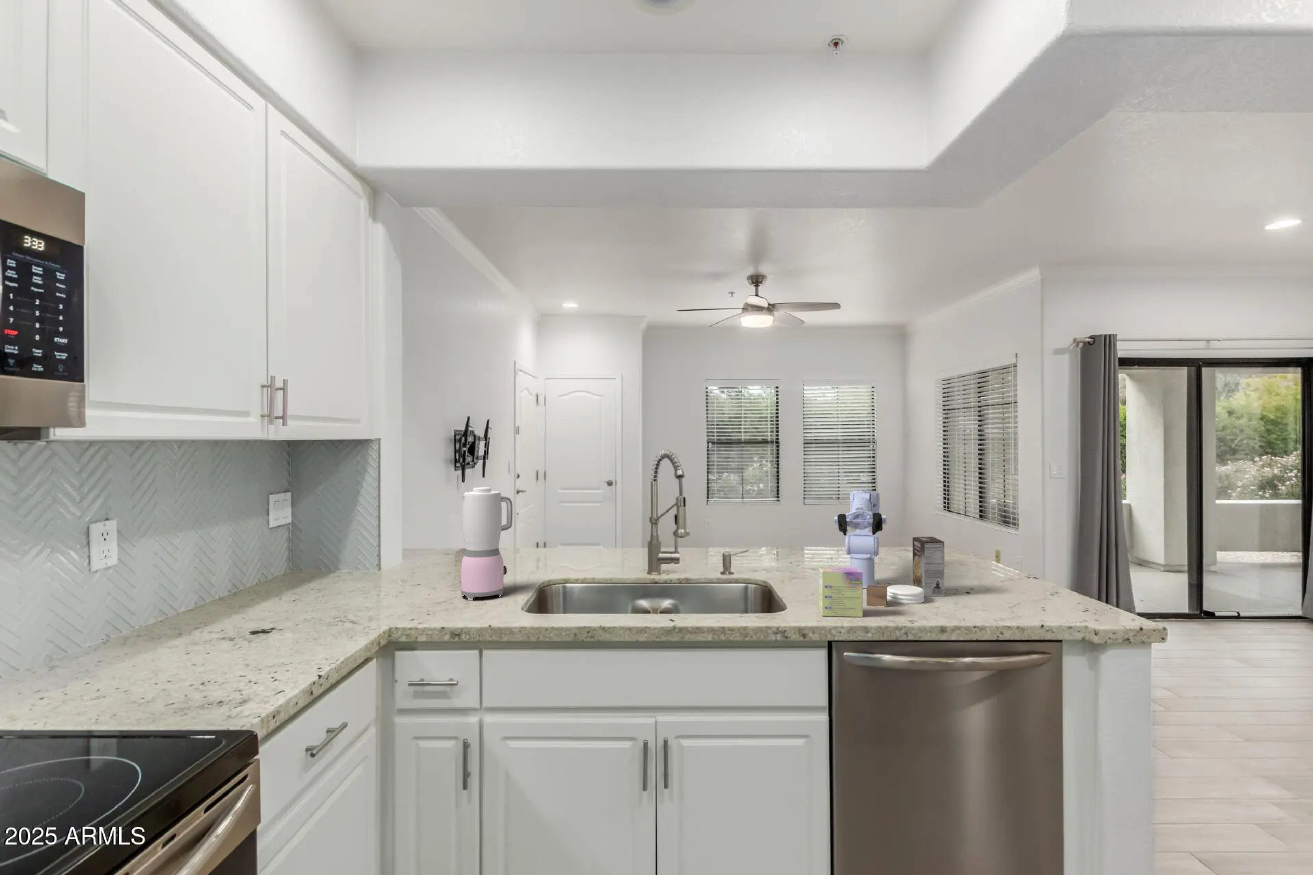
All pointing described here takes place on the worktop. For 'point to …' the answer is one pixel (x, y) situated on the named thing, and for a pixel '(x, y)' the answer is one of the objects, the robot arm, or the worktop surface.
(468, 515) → the blender
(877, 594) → the walnut block
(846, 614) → the box
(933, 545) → the coffee box
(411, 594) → the worktop surface
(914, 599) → the white round dish
